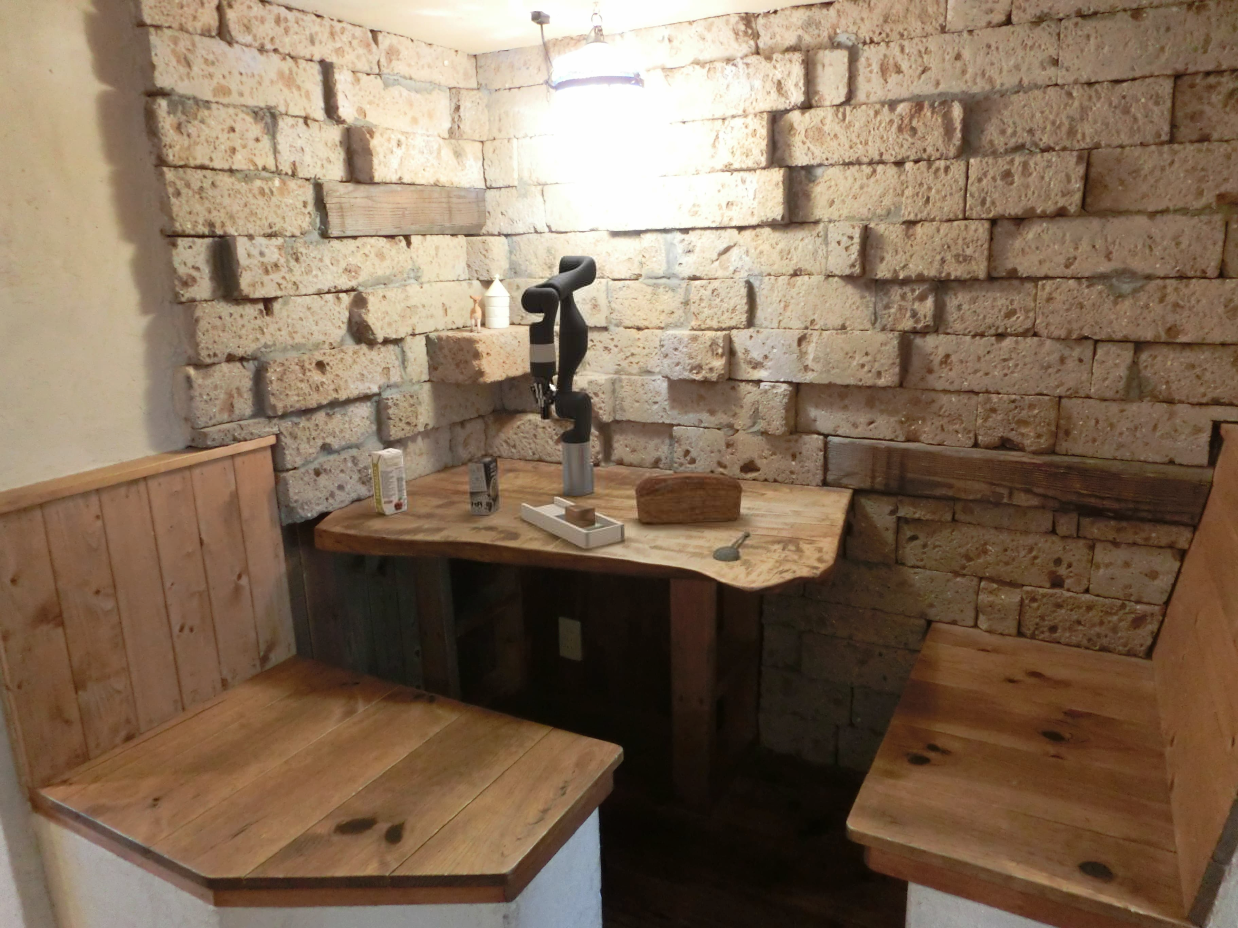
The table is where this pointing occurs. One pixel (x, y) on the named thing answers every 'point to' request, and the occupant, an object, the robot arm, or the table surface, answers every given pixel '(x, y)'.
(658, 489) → the bread
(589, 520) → the walnut block
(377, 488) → the juice carton
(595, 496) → the table surface
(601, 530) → the track
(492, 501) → the coffee box
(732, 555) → the soupspoon
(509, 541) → the table surface
